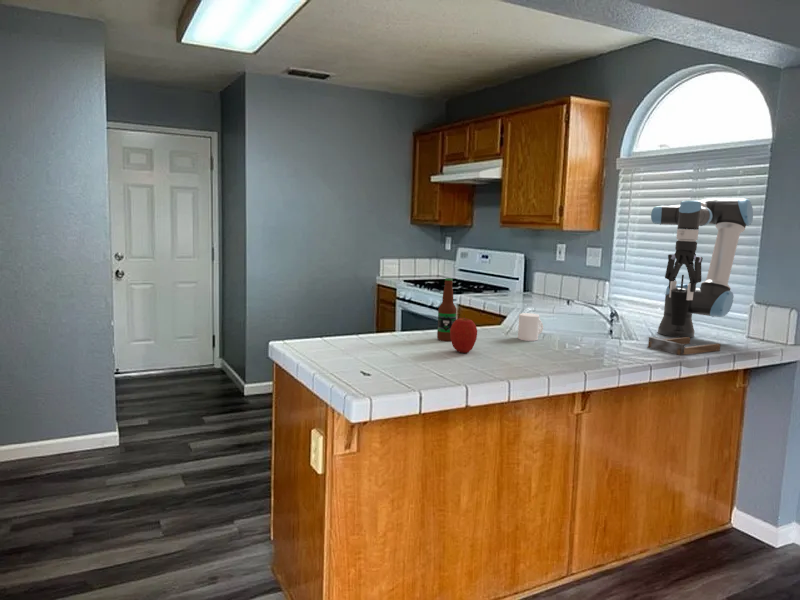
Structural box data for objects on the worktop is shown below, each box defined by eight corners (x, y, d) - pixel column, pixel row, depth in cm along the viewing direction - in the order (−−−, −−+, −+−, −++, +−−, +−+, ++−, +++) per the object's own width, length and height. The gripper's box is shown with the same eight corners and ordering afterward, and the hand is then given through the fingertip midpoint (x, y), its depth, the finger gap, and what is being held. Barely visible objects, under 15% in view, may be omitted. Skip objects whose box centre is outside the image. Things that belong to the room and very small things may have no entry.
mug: (515, 313, 250) (536, 312, 256) (513, 337, 251) (534, 335, 257) (529, 316, 243) (550, 315, 249) (527, 341, 244) (548, 339, 250)
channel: (647, 346, 242) (648, 337, 241) (686, 342, 253) (687, 333, 253) (680, 355, 229) (681, 345, 228) (719, 350, 240) (720, 340, 239)
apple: (443, 350, 223) (445, 313, 221) (465, 348, 228) (467, 312, 226) (459, 356, 215) (461, 318, 213) (481, 354, 220) (484, 316, 218)
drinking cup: (676, 326, 232) (681, 275, 230) (663, 323, 240) (668, 273, 237) (692, 326, 234) (698, 275, 232) (679, 322, 242) (684, 273, 239)
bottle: (435, 340, 240) (437, 279, 237) (439, 337, 247) (442, 277, 244) (452, 342, 238) (455, 280, 234) (456, 338, 245) (459, 278, 241)
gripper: (658, 239, 239) (652, 295, 243) (704, 241, 222) (697, 302, 225) (670, 239, 243) (665, 294, 246) (716, 242, 225) (710, 301, 229)
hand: (680, 298), depth 236 cm, fingers closed on drinking cup, 7 cm apart
